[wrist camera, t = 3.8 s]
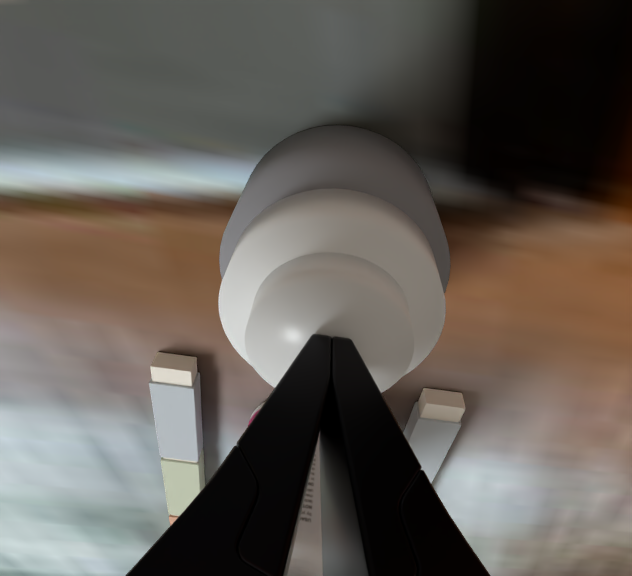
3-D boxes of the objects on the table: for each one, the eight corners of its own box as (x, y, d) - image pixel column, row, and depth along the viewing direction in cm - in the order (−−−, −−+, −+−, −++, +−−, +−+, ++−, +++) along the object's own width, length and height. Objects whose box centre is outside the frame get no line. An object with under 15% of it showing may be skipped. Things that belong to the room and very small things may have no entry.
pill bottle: (232, 430, 21) (175, 653, 14) (282, 373, 18) (242, 613, 12) (317, 466, 22) (302, 687, 16) (375, 418, 20) (387, 656, 13)
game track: (578, 159, 12) (632, 206, 10) (376, 573, 29) (378, 629, 27) (121, 92, 12) (64, 124, 10) (180, 549, 29) (165, 602, 26)
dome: (464, 206, 10) (491, 265, 8) (407, 367, 13) (417, 437, 11) (232, 172, 10) (203, 224, 8) (230, 343, 13) (209, 410, 11)
